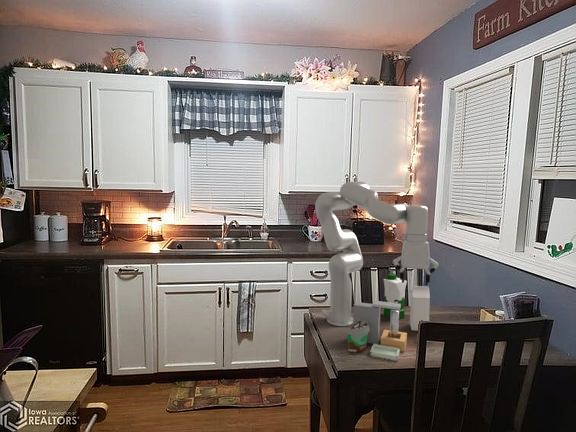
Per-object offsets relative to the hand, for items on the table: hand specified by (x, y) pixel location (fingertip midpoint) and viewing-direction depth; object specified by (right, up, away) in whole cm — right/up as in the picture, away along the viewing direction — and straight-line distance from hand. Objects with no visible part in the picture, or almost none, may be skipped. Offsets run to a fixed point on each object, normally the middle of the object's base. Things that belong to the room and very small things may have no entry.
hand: (414, 282), depth 148 cm
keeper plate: (-9, -10, +5) cm, 15 cm away
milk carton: (+9, -24, +23) cm, 34 cm away
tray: (-12, -27, -3) cm, 29 cm away
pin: (-7, -26, +5) cm, 27 cm away
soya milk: (+2, -23, +36) cm, 43 cm away
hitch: (-12, -25, +8) cm, 29 cm away
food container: (-21, -26, +1) cm, 33 cm away
